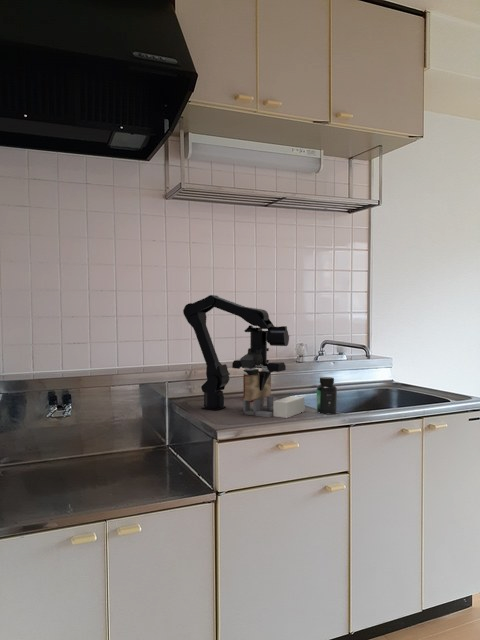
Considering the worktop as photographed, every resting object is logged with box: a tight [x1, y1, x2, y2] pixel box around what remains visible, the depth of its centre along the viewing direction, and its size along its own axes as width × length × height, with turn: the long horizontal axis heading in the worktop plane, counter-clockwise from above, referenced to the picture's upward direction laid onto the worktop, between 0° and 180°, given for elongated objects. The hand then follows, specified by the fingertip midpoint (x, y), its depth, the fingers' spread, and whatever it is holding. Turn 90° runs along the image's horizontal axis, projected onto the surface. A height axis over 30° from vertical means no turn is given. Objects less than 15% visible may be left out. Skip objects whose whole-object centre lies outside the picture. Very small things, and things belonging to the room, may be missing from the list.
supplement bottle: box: [316, 376, 338, 414], centre depth 173 cm, size 7×7×12 cm
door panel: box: [245, 373, 272, 401], centre depth 173 cm, size 14×2×8 cm, turn 146°
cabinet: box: [242, 395, 306, 419], centre depth 172 cm, size 15×16×5 cm
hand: (258, 390), depth 173 cm, fingers closed on door panel, 2 cm apart
